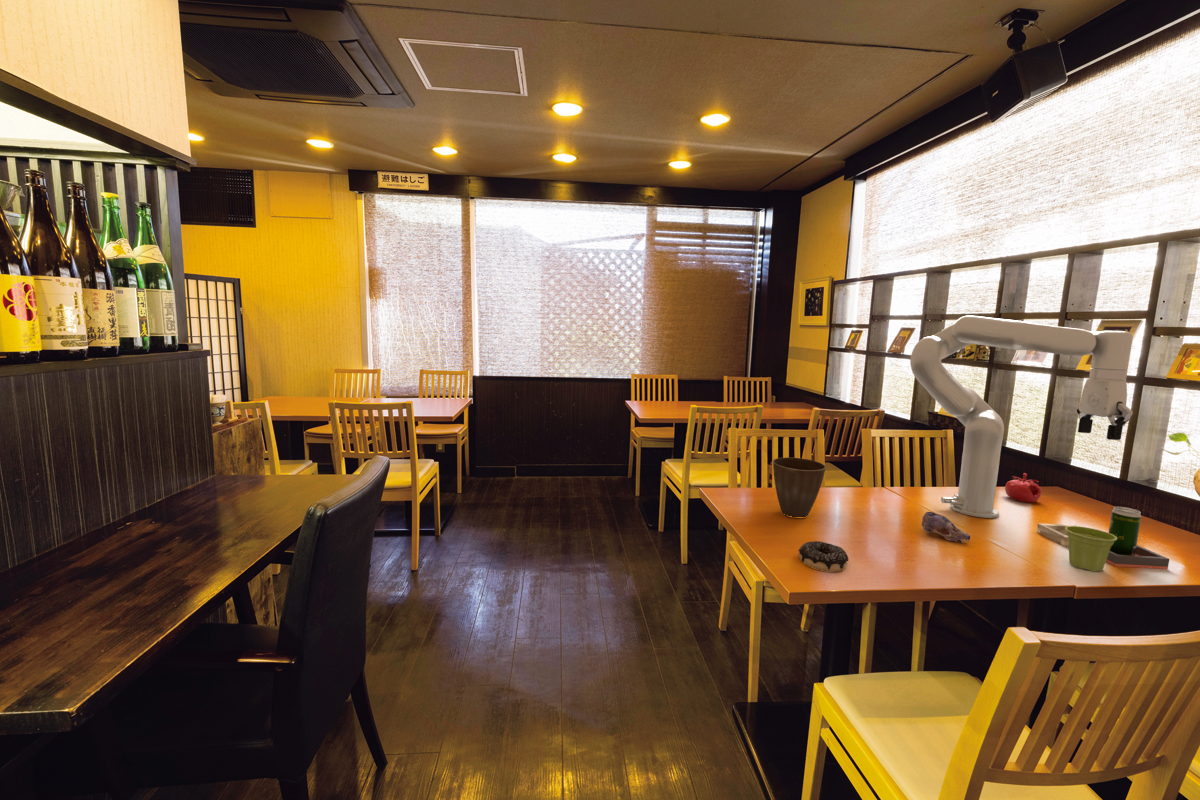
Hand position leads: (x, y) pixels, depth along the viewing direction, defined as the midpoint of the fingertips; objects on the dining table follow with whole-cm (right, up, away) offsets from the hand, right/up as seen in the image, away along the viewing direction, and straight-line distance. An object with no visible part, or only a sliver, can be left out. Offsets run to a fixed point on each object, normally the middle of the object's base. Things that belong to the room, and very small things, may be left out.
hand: (1098, 436), depth 151 cm
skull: (-46, -28, -3) cm, 54 cm away
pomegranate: (+5, -25, +33) cm, 42 cm away
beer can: (-7, -30, -14) cm, 34 cm away
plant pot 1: (-81, -25, +12) cm, 86 cm away
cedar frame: (-10, -29, -2) cm, 31 cm away
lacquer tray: (-7, -30, -14) cm, 34 cm away
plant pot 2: (-22, -31, -20) cm, 42 cm away
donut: (-87, -30, -22) cm, 94 cm away
